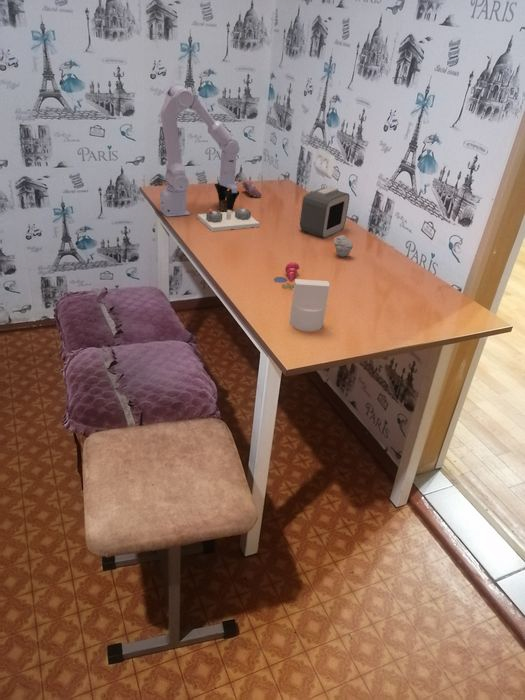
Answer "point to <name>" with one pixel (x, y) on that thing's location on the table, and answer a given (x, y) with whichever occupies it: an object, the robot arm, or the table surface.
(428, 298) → the table surface
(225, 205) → the walnut gear
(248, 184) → the pink irregular piece
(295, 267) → the toy pieces
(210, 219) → the gear board
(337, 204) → the alarm clock
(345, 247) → the grey muffin
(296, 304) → the cylinder with rectangular tab
